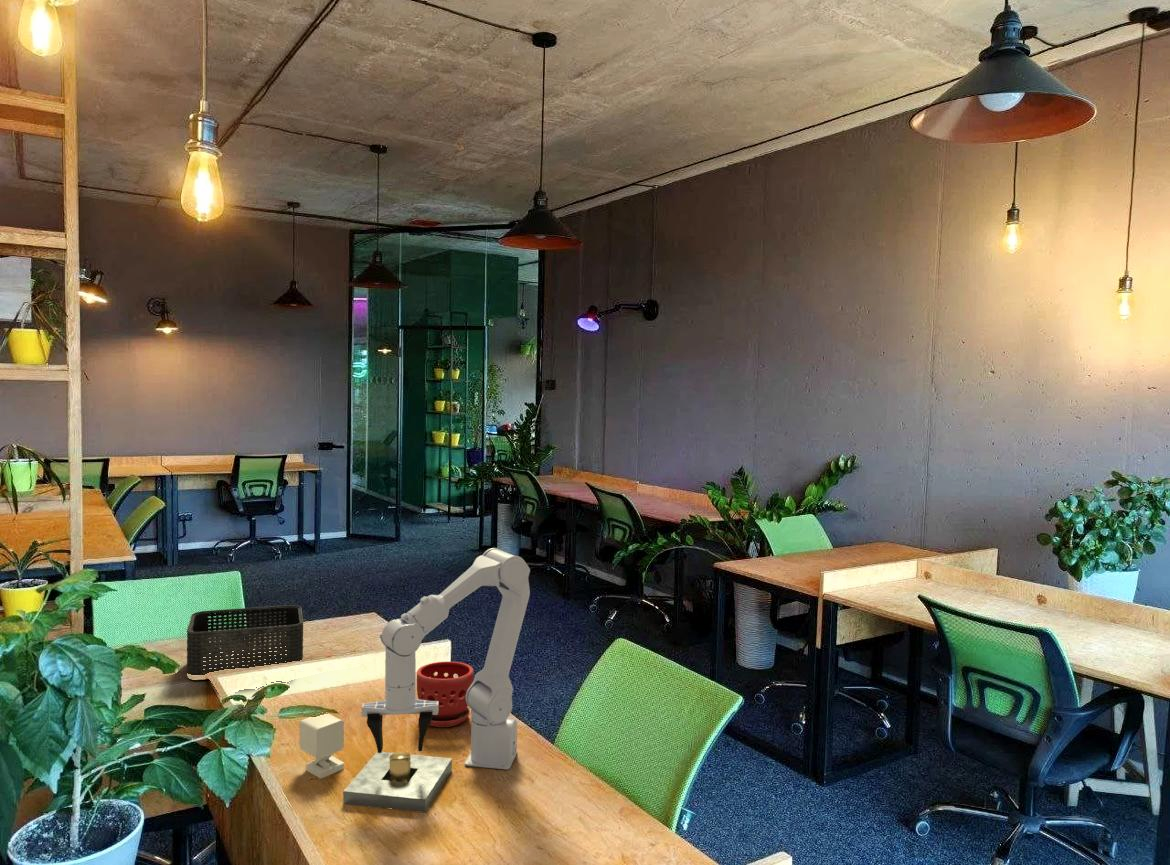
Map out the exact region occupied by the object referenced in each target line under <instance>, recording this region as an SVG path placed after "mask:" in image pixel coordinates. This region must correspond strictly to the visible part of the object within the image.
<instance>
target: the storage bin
mask: <svg viewBox="0 0 1170 865" xmlns="http://www.w3.org/2000/svg"><path fill="white" fill-rule="evenodd" d="M285 646H286V647H285ZM275 647H277V648H275ZM280 647H282V648H280ZM269 648H271V649H269ZM253 649H255V650H253ZM242 650H244V651H242ZM285 650H287V651H285ZM232 651H234V652H232ZM269 651H272V652H269ZM274 651H277V652H274ZM220 652H223V653H220ZM258 652H261V653H258ZM264 652H266V653H264ZM303 652H304V618H303V612H302V606H300V605H296V604H295V605H293V604H291V605H288V604H287V605H275V606H274V605H273V606H272V605H271V606H259V607H258V606H257V607H243V608H229V609H228V608H227V609H213V610H202V611H201V610H200V611H197V612H194V613H192V614H191V615H190V619H189V622H188V625H187V628H186V674H187V673H188V674H191V675H205V674H207V673H209V672H214V671H219V670H224V669H235V668H249V667H255V666H264V665H271V664H279V663H287V662H292V661H300V660H302V659H303V658H304V653H303ZM209 653H211V654H209ZM248 653H250V654H248ZM253 653H255V654H253ZM232 654H234V655H233V656H231V655H232ZM237 654H239V655H237ZM242 654H243V655H242ZM280 654H282V655H280ZM285 654H287V655H285ZM226 655H228V656H226ZM269 655H271V656H269ZM274 655H276V656H274ZM215 656H217V657H215ZM220 656H221V657H220ZM253 656H255V657H253ZM258 656H261V657H258ZM203 657H206V658H203ZM209 657H211V658H209ZM242 657H245V658H242ZM247 657H250V658H247ZM231 658H234V659H231ZM237 658H239V659H237ZM275 658H276V659H275ZM281 658H282V659H281ZM220 659H223V660H220ZM226 659H228V660H226ZM264 659H266V660H264ZM270 659H271V660H270ZM209 660H211V661H209ZM214 660H217V661H214ZM253 660H255V661H253ZM259 660H261V661H259ZM203 661H206V662H203ZM242 661H244V662H242ZM248 661H250V662H248ZM285 661H286V662H285ZM231 662H233V663H231ZM237 662H239V663H237ZM275 662H277V663H275ZM220 663H222V664H220ZM226 663H228V664H226ZM264 663H266V664H264ZM269 663H270V664H269ZM209 664H211V665H209ZM215 664H217V665H215ZM254 664H255V665H254ZM203 665H206V666H203ZM242 665H245V666H242ZM247 665H248V666H247ZM227 666H228V667H227ZM232 666H234V667H232ZM221 667H223V668H221ZM209 668H212V669H209ZM214 668H216V669H214ZM203 669H205V670H203Z"/></svg>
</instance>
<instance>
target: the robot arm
mask: <svg viewBox="0 0 1170 865" xmlns="http://www.w3.org/2000/svg"><path fill="white" fill-rule="evenodd" d="M530 573H531V568H530V567H529V565H528V564H527V563H526V561H525V560H524V559H523V557H521V556H519V555H513V554H511V553H509V552H506V551H503V550H501V549H500V548H497V547H492V548H487V550H485V551H484V552H483V554H482V555H479V556H477V557H476V558H475V560H474V561H473V563H472V565H471V566H470V567H468V569H466V571H464V572H463V573H462V574H461V575H460V576H458V578H457V579H455V580H454V581H453V582H452V583H451V584H450V585H448V586H447V587H446V588H445V589H444V590H442V592H440V593H439V594H430V595H428V596H425V595H424V596H423V597H421V598H420V599H419V603H417V605H415V606H413V607H412V608H411V609H410V610H408V611H407V612H406V613H405V612H404V613H403V614H401V615H400V618H396V619H391V620H390V621H388V623H386V625H384V626H383V627H384V628H383V629H382V632H381V634H379V639H380V642H381V643H382V645H384V647H385V660H384V661H385V663H384V664H385V670H384V673H385V676H384V680H385V685H384V686H385V687H384V688H385V691H384V692H385V695H384V696H385V697H384V698H385V699H384V700H380V701H374V702H366V703H365V702H363V703H362V705H361V718H367V719H366V725H367V727H368V728H369V730H370V732H371V734H372V736H373V738H374V741H375V745H376V748H377V751H378V753H382V752H383V750H384V749H383V748H384V738H383V737H384V736H383V735H384V734H383V720H384V719H383V716H387V715H390V716H391V715H392V716H393V715H394V716H398V715H402V716H403V715H419V714H420V716H419V717H418V744H417V751H418V752H423V748H424V747H423V746H424V741H425V740H424V739H425V737H426V734H427V732H428V730H429V727H430V726H431V725H430V723H431V721H432V716H433V715H438V711H439V701H426V700H418V698H416V687H417V672H416V671H417V670H416V668H417V667H416V662H417V660H416V659H417V658H416V652H417V651H418V649H419V648H420V646H421V644H422V641H423V640H424V638H425V637H426V636H427V635H428V634H429V633H430V632H432V631H433V630H434V629H435V628H436V627H438V626H439V625H440V624H441V623H442V622H444V621H445V620H446V619H448V617H449V613H450V609H451V608H453V606H455V605H456V604H458V603H459V602H461V601H463V600H464V599H465V598H466V597H468V596H469V595H470V594H472V593H474V592H475V591H477V590H478V589H479V588H480V587H482V586H483V587H497V589H498V591H499V592H500V594H501V596H502V598H501V602H500V604H499V605H500V606H499V608H498V613H497V617H496V620H495V624H494V628H493V632H492V635H491V639H490V642H489V646H488V650H487V654H486V657H485V661H484V664H483V665H484V666H483V668H482V669H481V670H479V671H478V672H476V674H475V675H474V678H473V683H472V684H471V686H470V687H469V688H468V690H467V693H466V703H467V705H468V706H467V707H468V708H469V709H470V714H471V717H470V718H471V720H470V721H471V722H470V724H471V726H470V737H471V738H470V752H469V755H468V757H467V758H466V760H465V762H464V766H467V767H475V768H476V767H477V768H487V769H488V768H489V769H498V770H505V771H506V770H509V769H510V768H511V767H512V764H513V762H514V760H515V758H516V756H517V754H518V749H517V748H518V744H517V743H518V722H517V720H516V719H514V718H510V715H511V713H512V711H513V699H512V698H513V692H514V688H513V685H512V682H511V679H510V677H509V676H510V670H511V668H512V664H513V661H514V660H513V659H514V657H515V656H514V655H515V653H516V649H517V644H518V640H519V636H520V633H521V629H522V626H523V623H524V622H523V621H524V618H525V615H526V612H527V606H528V603H529V600H530V595H531V590H530V582H529V576H530Z"/></svg>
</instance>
